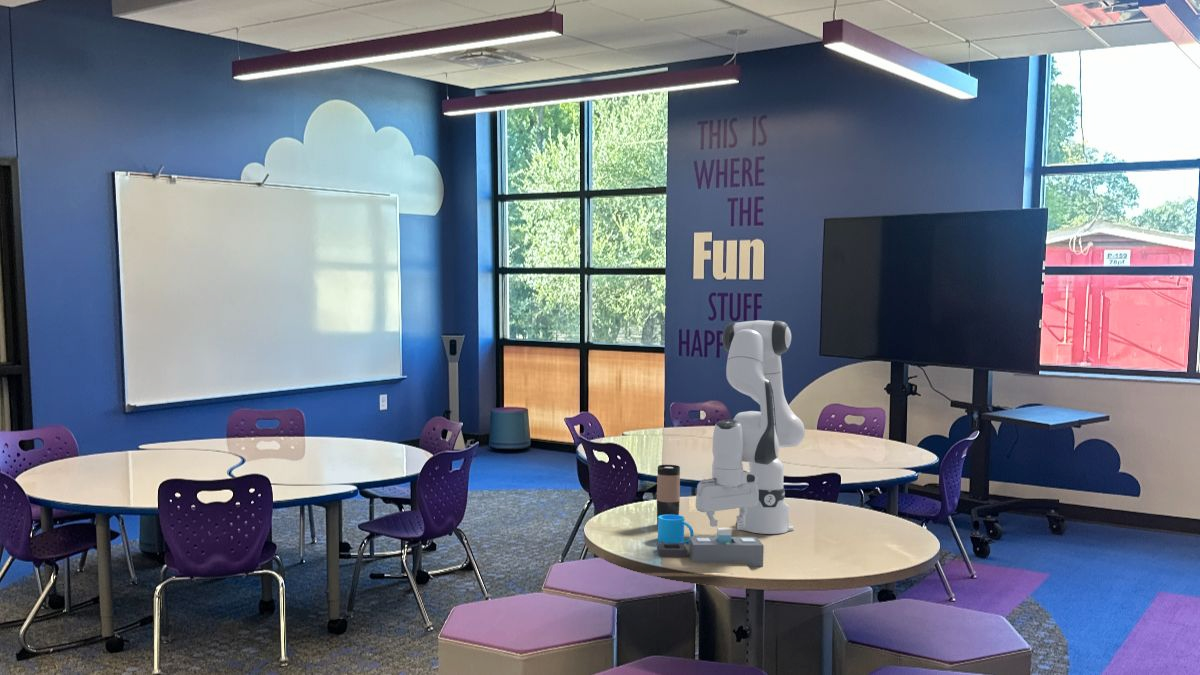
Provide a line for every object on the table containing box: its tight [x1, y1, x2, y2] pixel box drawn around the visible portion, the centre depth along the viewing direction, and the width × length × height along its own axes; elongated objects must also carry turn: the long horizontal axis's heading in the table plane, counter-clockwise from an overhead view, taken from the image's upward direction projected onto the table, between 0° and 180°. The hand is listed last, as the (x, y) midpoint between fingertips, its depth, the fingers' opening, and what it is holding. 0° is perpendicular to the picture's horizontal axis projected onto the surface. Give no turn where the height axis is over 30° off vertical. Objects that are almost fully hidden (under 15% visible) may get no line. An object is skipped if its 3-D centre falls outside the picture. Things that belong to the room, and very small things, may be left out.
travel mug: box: [656, 464, 681, 527], centre depth 324 cm, size 8×8×20 cm
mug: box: [657, 514, 694, 544], centre depth 299 cm, size 12×8×8 cm
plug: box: [716, 527, 733, 543], centre depth 279 cm, size 4×4×8 cm
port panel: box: [688, 535, 764, 567], centre depth 280 cm, size 10×20×6 cm, turn 92°
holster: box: [656, 542, 688, 558], centre depth 284 cm, size 8×8×3 cm
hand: (727, 524), depth 280 cm, fingers open, 8 cm apart
